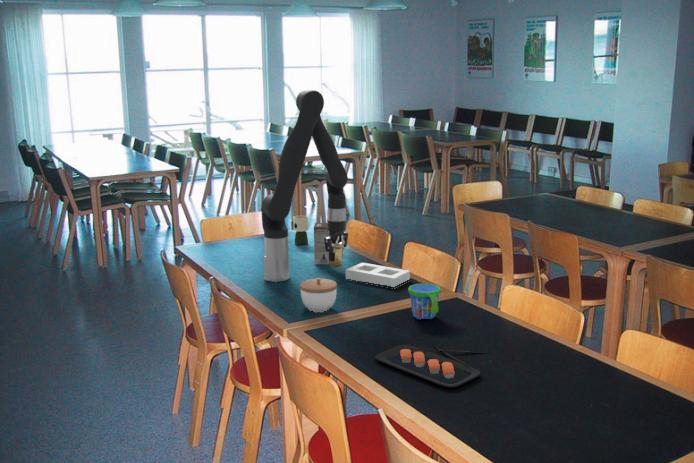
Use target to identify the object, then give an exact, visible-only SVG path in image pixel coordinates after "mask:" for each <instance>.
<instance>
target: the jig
mask: <svg viewBox="0 0 694 463" xmlns="http://www.w3.org/2000/svg"><path fill="white" fill-rule="evenodd" d="M347 279H351V280H350V281H352V280H356V281H355V282H357V281H362V282H369V283H374V284H380V285H387V286H391V287H395V286H397V285H399V284H401V283H403V282H405V281H407V280H409V279H410V280H411V271H410V270H408V269H401V268H396V267H391V266H390V267H388V266H385V265H378V264H372V263H368V262H360V263H358V264H356V265H353V266H350V267H348V268H346V269H345V280H347ZM362 282H361V283H362Z"/></svg>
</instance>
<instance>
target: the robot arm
mask: <svg viewBox="0 0 694 463" xmlns="http://www.w3.org/2000/svg"><path fill="white" fill-rule="evenodd" d="M295 105H296V107H297V109H298V111H299V113H298V117H297V120H296V122H295V125H294V127H293V128H292V130H291V132H290V133H289V135H288V137H287V138H286V140H285V142H284V145H283V147H282V150H281V152H280V153H281V154H280V157H279V160H278V171H277V172H278V174H277V175H278V176H277V177H278V178H277V183H276V188H275V189H274V193H273V194H268V195H267V196H265V197H264V198H263V200H262V203H261V223H262V229H263V233H264V234H263V235H264V236H263V237H264V239H263V241H264V256H263V257H262V258H263V280H264V281H268V282H273V283H278V282H285V281H287V280H289V279H290V262H289V230H288V227H287V225H286V220H285V219H286V218H287V217H288V215H289V213H290V211H291V207H292V203H293V199H294V198H293V197H294V193H295V190H296V187H297V183H298V181H299V177H300V175H301V171H302V168H303V166H304V162H305V161H306V157H307V153H308V149H309V148H310V143H311V140H312V139H313V142H314V145H315V147H316V150H317V153H318V155H319V157H320V158H319V159H320V161H321V163H322V165H323V166H324V167H325V168H326V171H327V173H326V176H325V184H326V191H327V196H328V197H327V212H326V217H327V218H326V223H327V230H328V231H329V237H327V238H326V237H325V238H324V243H325V249H326V251H328V252H329V260H330V261H332V262H334V261H335V247H336V246H337V244H338V243H341V244H343V247H342V259H343V257H344V249H345V248H347V246H348V238H349V233H348V232H347V231H346V229H347V211H346V202H347V201H346V200H347V199H346V195H345V193H344V188H343V187H345V186H346V185H347V184H348V174H347V171H346V168H345V167H344V165H343V163H342V161H341V159H340V156H339V153H338V152H337V151H338V150H337V148H336V145H335V143H334V142H335V141H334V140H333V138H332V136H331V135H330V133H329V132H328V129H327V127H326V126H325V124H324V122H323V119H322V116H321V114H322V112H323V109H324V105H325V100H324V96H323V94H322V93H321V92H319V91H318V90H314V89H313V90H312V89H306V90H302V91H300V92H299V93H298V94H297V96H296V99H295ZM345 231H346V232H345ZM331 243H332V244H334V245H332V244H331ZM332 246H333V249H332ZM328 247H329V249H328ZM330 261H329V262H330Z"/></svg>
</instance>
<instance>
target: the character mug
mask: <svg viewBox="0 0 694 463" xmlns="http://www.w3.org/2000/svg"><path fill="white" fill-rule="evenodd" d="M292 218H293V220H292V222H293V231H294V232H295V233H294V234H295V236H294V244H295V245H305V244H308V243H309V238H308V231H309V227H310V226H309V216H307V215H294V216H293V217H292Z"/></svg>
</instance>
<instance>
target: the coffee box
mask: <svg viewBox="0 0 694 463" xmlns="http://www.w3.org/2000/svg"><path fill="white" fill-rule="evenodd" d="M325 237H326V238H327V237H329V231H328V230H327V222H315V223H314V226H313V245H314V246H313V247H314V248H313V249H314V250H313V254H314V265H330V260H329V252H328V251H326V249H325V243H324V238H325ZM328 249H329V247H328Z"/></svg>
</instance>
